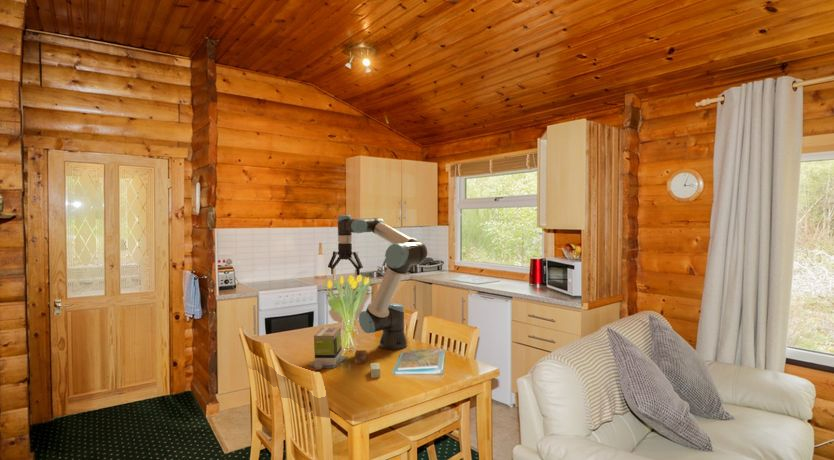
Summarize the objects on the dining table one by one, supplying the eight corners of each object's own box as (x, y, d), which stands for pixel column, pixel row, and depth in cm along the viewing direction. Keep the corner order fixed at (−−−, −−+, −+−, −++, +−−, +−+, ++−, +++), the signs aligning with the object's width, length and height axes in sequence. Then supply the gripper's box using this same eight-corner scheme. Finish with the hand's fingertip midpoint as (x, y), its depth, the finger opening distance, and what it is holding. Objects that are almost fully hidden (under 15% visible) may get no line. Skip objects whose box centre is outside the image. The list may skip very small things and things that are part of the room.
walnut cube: (366, 360, 229) (366, 350, 229) (365, 363, 224) (365, 353, 224) (356, 360, 229) (356, 350, 229) (355, 363, 224) (354, 353, 224)
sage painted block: (379, 371, 214) (379, 362, 214) (380, 377, 206) (380, 368, 206) (370, 371, 213) (370, 363, 213) (371, 378, 206) (371, 369, 205)
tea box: (322, 355, 234) (322, 326, 234) (342, 355, 234) (341, 326, 233) (314, 365, 219) (313, 334, 219) (335, 365, 219) (334, 335, 218)
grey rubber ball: (324, 368, 218) (324, 360, 218) (320, 371, 214) (320, 362, 214) (316, 367, 219) (316, 359, 219) (312, 370, 215) (312, 362, 215)
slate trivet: (347, 358, 232) (347, 356, 232) (333, 368, 217) (333, 367, 217) (324, 355, 236) (324, 354, 236) (308, 366, 221) (308, 364, 221)
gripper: (368, 242, 258) (368, 280, 259) (327, 241, 265) (328, 278, 266) (363, 243, 251) (363, 282, 252) (321, 243, 257) (322, 280, 258)
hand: (345, 280), depth 259 cm, fingers open, 13 cm apart
